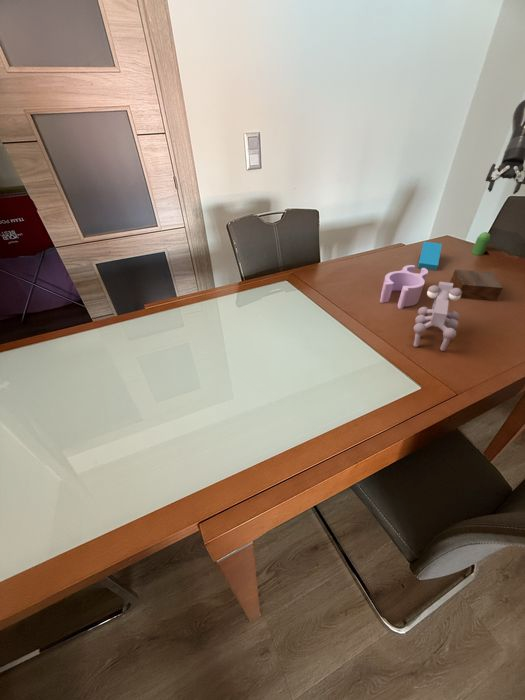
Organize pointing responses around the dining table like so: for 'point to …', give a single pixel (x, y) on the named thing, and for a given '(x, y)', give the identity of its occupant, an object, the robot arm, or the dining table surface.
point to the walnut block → (477, 284)
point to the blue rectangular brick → (430, 255)
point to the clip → (404, 285)
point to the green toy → (481, 244)
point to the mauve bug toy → (439, 313)
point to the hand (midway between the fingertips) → (502, 191)
